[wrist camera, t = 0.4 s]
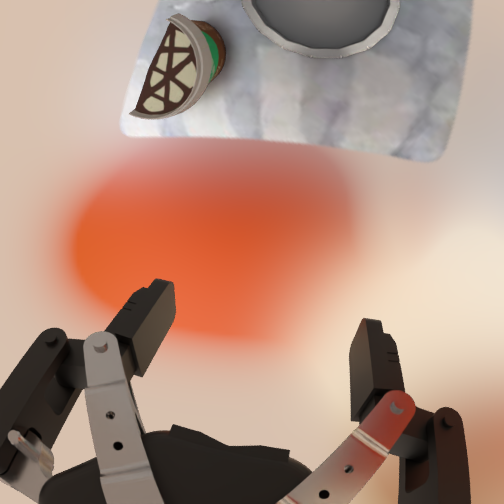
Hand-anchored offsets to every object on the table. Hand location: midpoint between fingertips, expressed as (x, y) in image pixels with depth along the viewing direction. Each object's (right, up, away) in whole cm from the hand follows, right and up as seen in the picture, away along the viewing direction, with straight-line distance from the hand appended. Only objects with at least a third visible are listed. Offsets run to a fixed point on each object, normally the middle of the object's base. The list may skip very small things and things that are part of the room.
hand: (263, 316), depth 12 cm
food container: (-6, +26, +19) cm, 32 cm away
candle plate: (+7, +30, +10) cm, 32 cm away
